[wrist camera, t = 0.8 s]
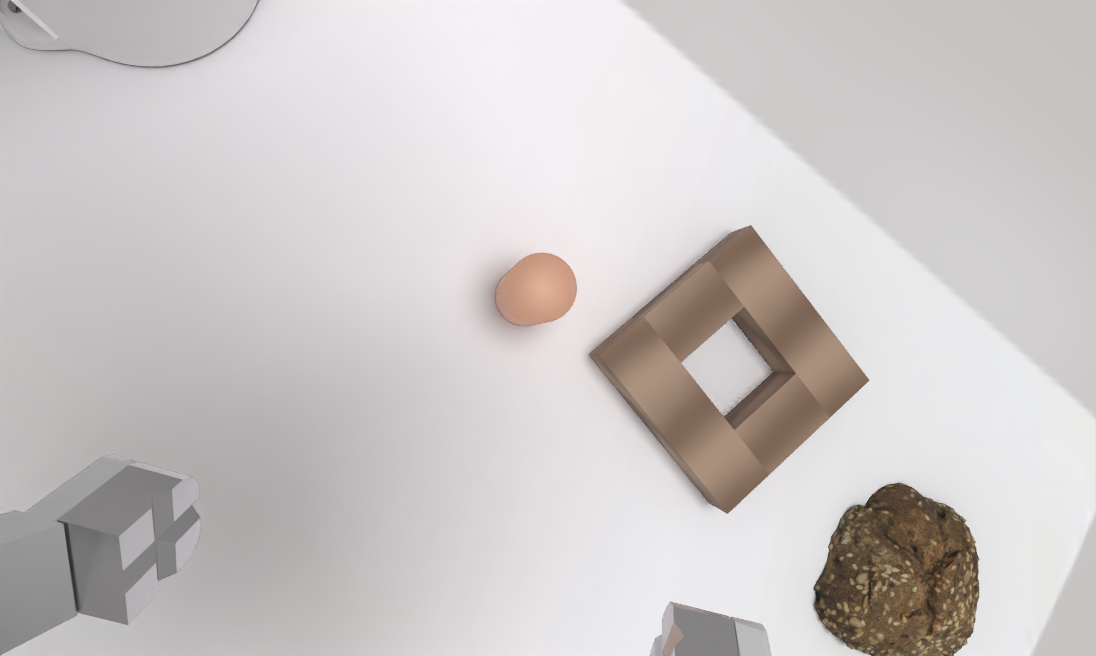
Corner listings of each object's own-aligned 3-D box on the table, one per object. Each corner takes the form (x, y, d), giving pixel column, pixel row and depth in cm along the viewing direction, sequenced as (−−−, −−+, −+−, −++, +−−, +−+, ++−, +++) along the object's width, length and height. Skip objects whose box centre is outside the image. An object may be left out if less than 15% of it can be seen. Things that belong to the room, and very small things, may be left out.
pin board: (588, 354, 46) (599, 355, 43) (731, 232, 48) (750, 225, 45) (709, 503, 47) (727, 513, 44) (843, 378, 49) (869, 380, 46)
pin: (483, 292, 45) (493, 282, 37) (527, 256, 45) (547, 238, 38) (520, 337, 45) (538, 336, 37) (563, 301, 46) (590, 292, 38)
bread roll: (939, 668, 51) (993, 703, 46) (798, 631, 49) (839, 664, 44) (980, 507, 52) (1037, 525, 47) (843, 465, 50) (888, 478, 45)
